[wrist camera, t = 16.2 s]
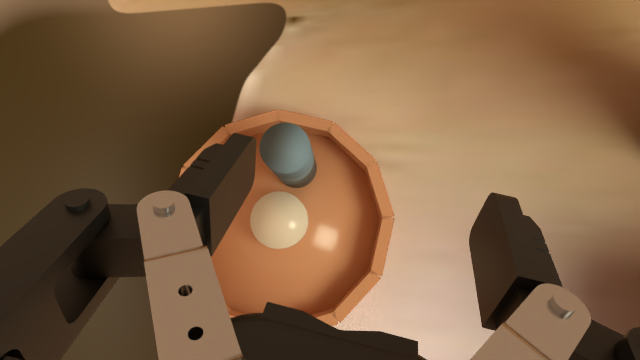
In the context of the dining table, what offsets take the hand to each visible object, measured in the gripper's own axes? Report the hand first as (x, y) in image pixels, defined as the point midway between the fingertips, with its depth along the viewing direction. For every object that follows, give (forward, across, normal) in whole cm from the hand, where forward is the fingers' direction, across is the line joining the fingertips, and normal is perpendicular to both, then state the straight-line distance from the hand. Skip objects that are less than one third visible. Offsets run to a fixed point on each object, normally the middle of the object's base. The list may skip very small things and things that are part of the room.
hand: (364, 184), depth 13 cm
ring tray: (+21, +7, +23) cm, 31 cm away
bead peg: (+24, +7, +18) cm, 31 cm away
